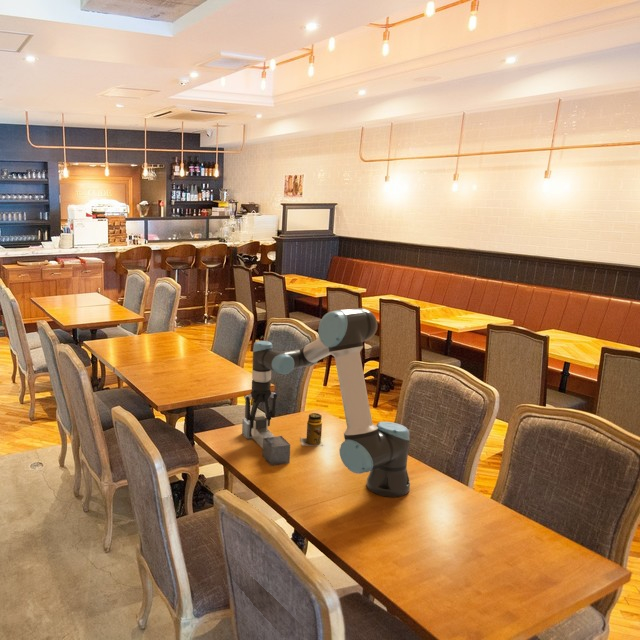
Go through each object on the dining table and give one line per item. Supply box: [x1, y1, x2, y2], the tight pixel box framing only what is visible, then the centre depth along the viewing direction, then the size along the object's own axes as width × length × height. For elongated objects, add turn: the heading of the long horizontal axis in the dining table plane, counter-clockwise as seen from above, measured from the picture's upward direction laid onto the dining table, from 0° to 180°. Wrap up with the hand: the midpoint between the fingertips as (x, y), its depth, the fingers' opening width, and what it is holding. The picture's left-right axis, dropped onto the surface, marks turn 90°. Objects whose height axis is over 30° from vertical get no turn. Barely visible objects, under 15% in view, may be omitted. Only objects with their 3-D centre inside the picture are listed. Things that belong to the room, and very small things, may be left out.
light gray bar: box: [248, 415, 276, 450], centre depth 238 cm, size 22×4×9 cm, turn 26°
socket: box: [241, 418, 253, 440], centre depth 247 cm, size 6×8×6 cm
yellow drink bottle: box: [300, 412, 324, 447], centre depth 243 cm, size 7×8×12 cm
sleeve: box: [262, 435, 291, 467], centre depth 225 cm, size 9×8×7 cm
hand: (259, 434), depth 241 cm, fingers closed on light gray bar, 4 cm apart
